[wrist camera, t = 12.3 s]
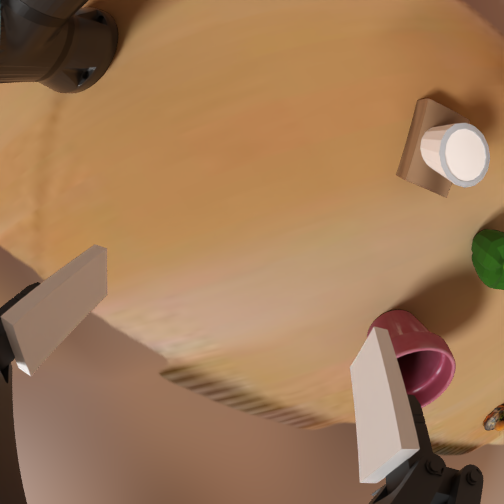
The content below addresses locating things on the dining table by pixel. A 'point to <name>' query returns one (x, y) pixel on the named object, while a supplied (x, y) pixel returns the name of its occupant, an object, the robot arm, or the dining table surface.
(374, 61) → the dining table surface
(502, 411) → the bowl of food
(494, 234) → the bell pepper
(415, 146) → the walnut base block
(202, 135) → the dining table surface
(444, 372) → the plant pot
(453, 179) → the white cup
